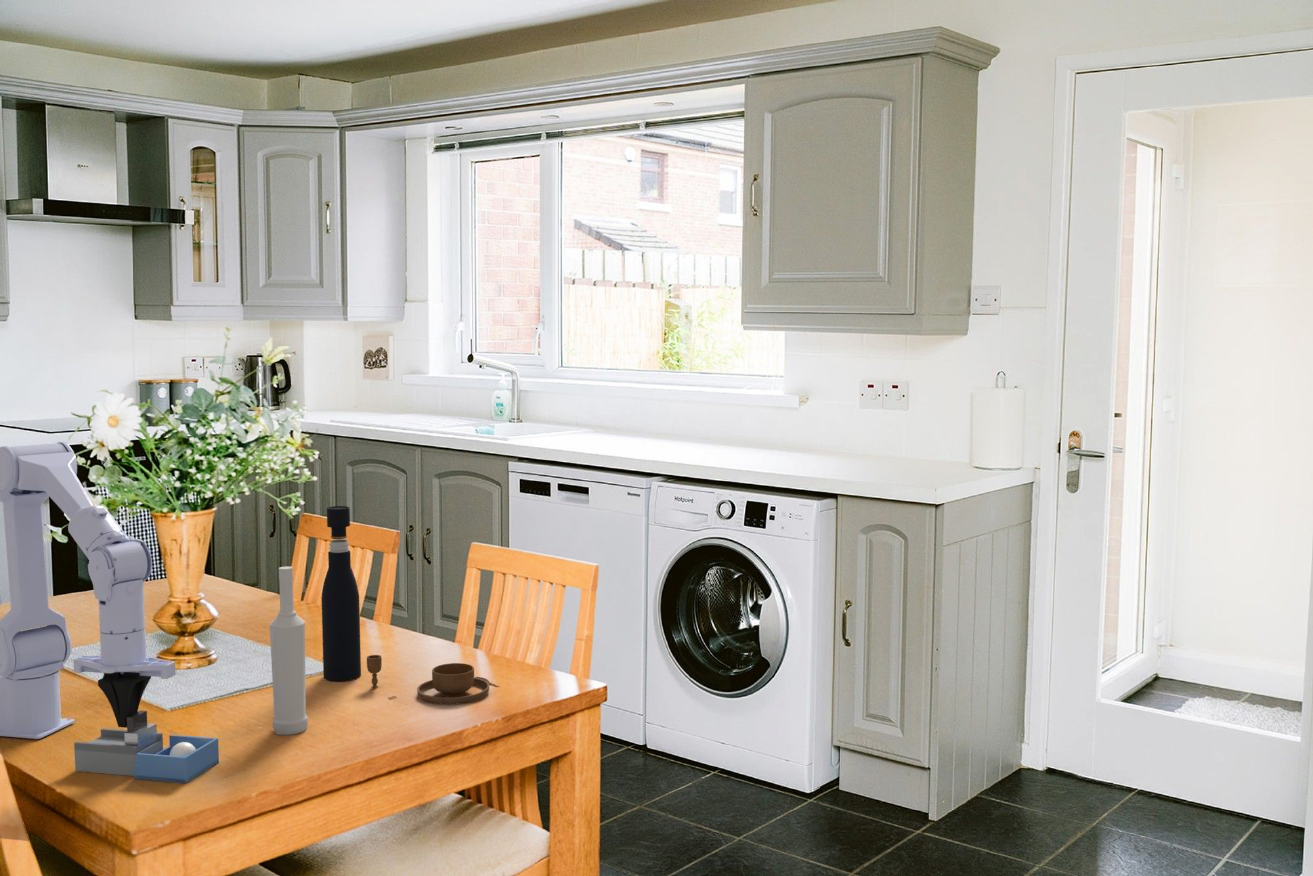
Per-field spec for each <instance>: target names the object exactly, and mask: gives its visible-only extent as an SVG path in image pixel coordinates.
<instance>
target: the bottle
mask: <svg viewBox="0 0 1313 876" xmlns="http://www.w3.org/2000/svg"><path fill="white" fill-rule="evenodd" d="M278 581H279V606H280V607H279V612H277V616H276V617H275V618H274V619H273V620H272V621H271V622H270V623H269V638H270V655H271V658H270V659H271V677H272V695H273V698H272V699H273V713H274V714H273V718H272V728H273V732H274V733H275V734H277V735H281V736H283V735H284V736H285V735H286V736H289V735H296V734H300V733H302V732H303V733H304V731H306V730H307V728H308V724H309V723H308V721H309V720H308V719H309V717H308V715H307V713H306V708H307V707H306V706H307V705H306V620H304V619H303V618H302V617H300V616H299V615H298V614H297V611H296V610H295V607H294V567H293V566H287V565H285V566H281V567H278Z"/></svg>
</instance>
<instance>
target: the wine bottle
mask: <svg viewBox="0 0 1313 876" xmlns="http://www.w3.org/2000/svg"><path fill="white" fill-rule="evenodd" d="M350 511H351V509H350V506H348V505H334V506H333V505H332V506H329V507H326V527H327V528H330V529H331V532H330V534H331V535H330V537H331V540H329V551H328V552H327V554H328V555H327V556H328V564H327V565H328V567H327V571H326V575H325V576H324V581H323V585H322V592H321V597H320V598H321V627H322V628H321V629H322V635H321V636H322V666H323V667H322V668H323V670H322V673H323V680H325V681H327V682H334V683H341V682H342V683H343V682H350V681H353V680H358V679H360V677H361V676H362V660H361V659H362V657H361V655H362V653H361V617H360V616H361V614H360V613H361V612H360V593H359V587H358V583H357V580H356V577H355V574H354V572H353V569H352V567H351V566H352V565H351V563H352V560H351V550H349V549H350V547H349V545H350V543H349V540H348V539H346V538H347V537H348V536H347V527H348V528H349V527H350V526H351V512H350Z"/></svg>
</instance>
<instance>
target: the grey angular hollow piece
mask: <svg viewBox="0 0 1313 876" xmlns="http://www.w3.org/2000/svg"><path fill="white" fill-rule="evenodd" d="M157 726H158V725H157V723H148V711H147V710H138V712H136V713H134V714H132V715H130V716H128V717H127V728H126V730H127V732H125V733H124V734H125V745H126V746H138V751H139V750H141V749H143V748H144V747H146V746H148V745H150V744H152V743H154V742H155V741H157V733H158V732H157Z"/></svg>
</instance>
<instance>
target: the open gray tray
mask: <svg viewBox="0 0 1313 876" xmlns="http://www.w3.org/2000/svg"><path fill="white" fill-rule="evenodd" d="M125 732H127V729H116V728H101V729H100V736H99V737H97V738H95V739H93V740H90V741H89V742H88V741H87V742H86V741H75V742H74V743H73V748H74V749H73V750H74V770H75V772H83V773H85V772H86V773H96V774H107V775H117V776H119V775H120V776H131V777H134V766H135V765H136V754H137V753H144V754H156V753H158V752H159V751H161V750H163V749H164V740H163V739H164V737H163V736H164V735H163V732H157V741H155V742H154V743H152V744H150V745H148V746H146V747H144V748H143V749H141V750H139V751H138V746H126V745H125V734H124V733H125Z"/></svg>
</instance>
